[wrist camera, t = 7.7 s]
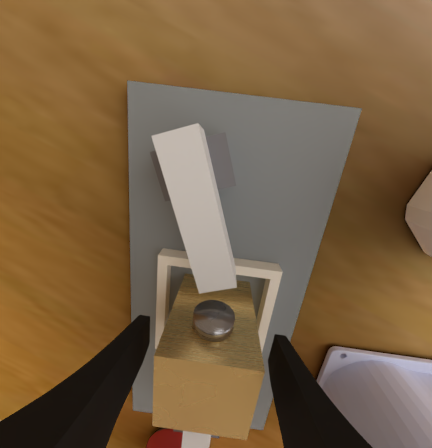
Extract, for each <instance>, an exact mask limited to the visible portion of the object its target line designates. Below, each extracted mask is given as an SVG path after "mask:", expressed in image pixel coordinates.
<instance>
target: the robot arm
mask: <svg viewBox="0 0 432 448" xmlns="http://www.w3.org/2000/svg"><path fill="white" fill-rule="evenodd" d="M149 344H150V316H145V315H139V316H137V318H136V319H135V320H134V321H133V322H132V323H131V324H130V325H129V326H128V327H127V328H126V329H125V330H124V331H122V332H121V333H120V334H119V335H118V336H117V337H116V338H115V339H114V340H113V341H112V342H111V343H110V344H109V345H108V346H106V347H105V348H104V349H103V350H102V351H101V352H99V353H98V354H97V355H96V356H95V357H94V358H92V359H91V360H90V361H89V362H88V363H86V364H85V365H84V366H83V367H81V368H80V369H79V370H77V371H76V372H75V373H73V374H72V375H71V376H69V377H68V378H67V379H65V380H64V381H63V382H61V383H60V384H58V385H57V386H55V387H54V388H53V389H51V390H50V391H48V392H47V393H45V394H44V395H42V396H41V397H39V398H38V399H36V400H34V401H33V402H31V403H30V404H28V405H26V406H25V407H23V408H22V409H20V410H18V411H17V412H15V413H14V414H12V415H10V416H9V417H7V418H5V419H4V420H2V421H0V448H106V446H107V443H108V441H109V438H110V435H111V433H112V430H113V428H114V425H115V422H116V420H117V418H118V415H119V413H120V411H121V409H122V406H123V404H124V402H125V400H126V398H127V396H128V394H129V392H130V389H131V387H132V385H133V383H134V381H135V379H136V377H137V374H138V372H139V370H140V368H141V366H142V364H143V361H144V358H145V355H146V352H147V350H148V347H149ZM268 368H269V376H270V383H271V388H272V393H273V398H274V402H275V407H276V411H277V416H278V420H279V425H280V430H281V434H282V439H283V445H284V448H432V360H429V359H422V358H415V357H408V356H401V355H394V354H387V353H380V352H373V351H366V350H359V349H352V348H345V347H338V346H333V347H331V348H330V349H329V350H328V352H327V355H326V357H325V360H324V363H323V365H322V368H321V370H320V373H319V375H318V378H317V380H315V378H314V377H313V376H312V374H311V373H310V371H309V370H308V368H307V367H306V366H305V364H304V363H303V361H302V360H301V358H300V357H299V355H298V354H297V352H296V351H295V349H294V347H293V346H292V344H291V343H290V341H289V340H288V338H287V337H286V336H285V335H278V334H275V336H274V339H273V343H272V347H271V350H270V354H269V358H268Z"/></svg>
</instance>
